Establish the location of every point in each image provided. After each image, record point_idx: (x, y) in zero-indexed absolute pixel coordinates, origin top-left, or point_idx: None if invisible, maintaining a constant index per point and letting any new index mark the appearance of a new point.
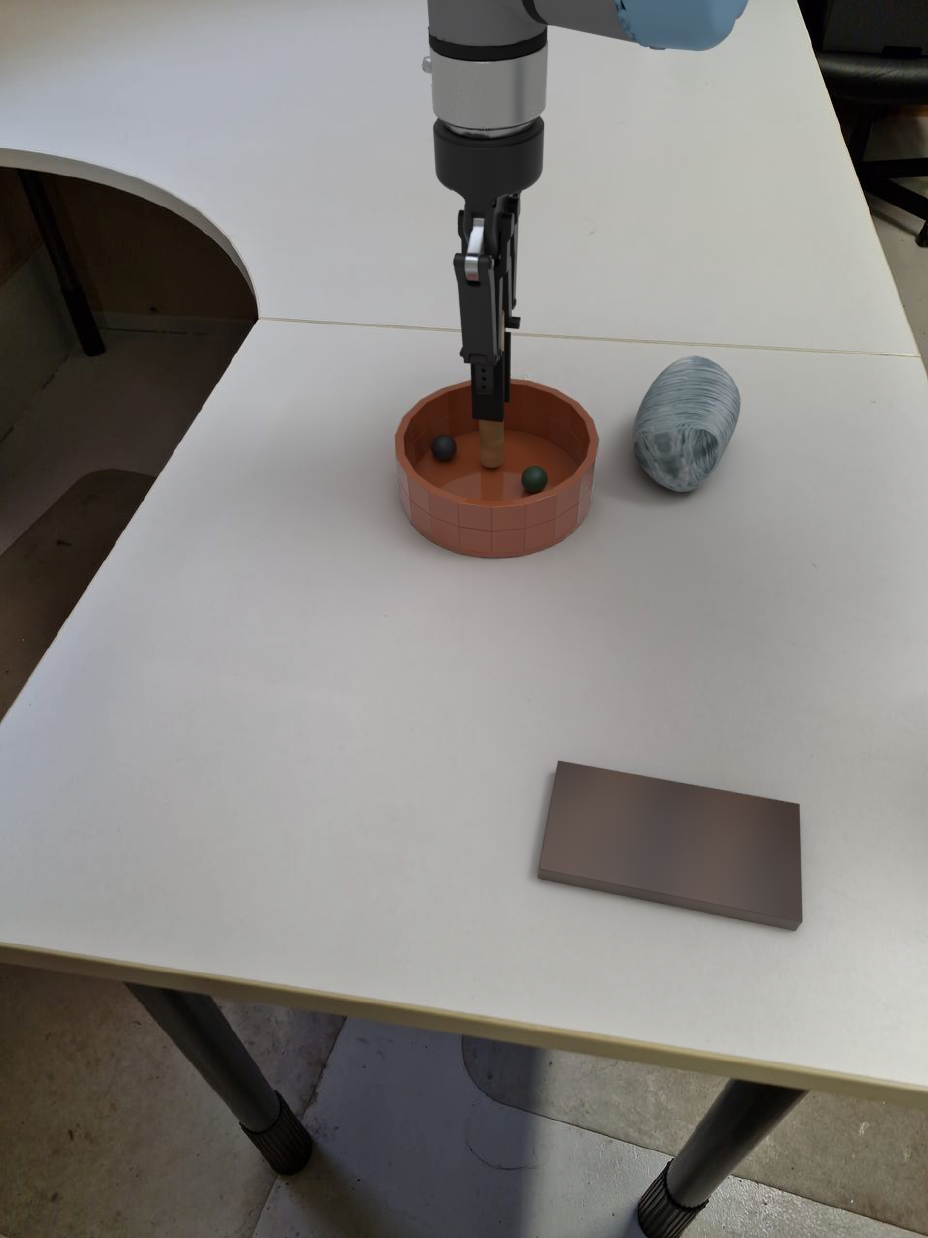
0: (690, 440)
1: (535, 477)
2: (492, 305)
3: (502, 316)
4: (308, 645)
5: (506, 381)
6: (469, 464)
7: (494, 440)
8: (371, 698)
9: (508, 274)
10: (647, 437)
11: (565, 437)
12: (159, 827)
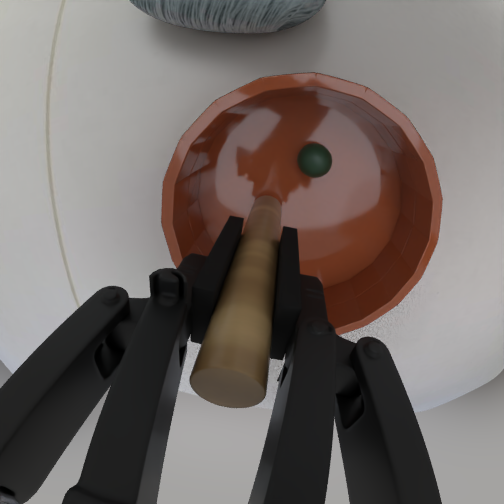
0: None
1: (327, 162)
2: (431, 495)
3: (241, 370)
4: (440, 332)
5: (236, 239)
6: None
7: (280, 222)
8: (485, 293)
9: (146, 443)
10: (304, 7)
11: (231, 117)
12: (491, 357)
